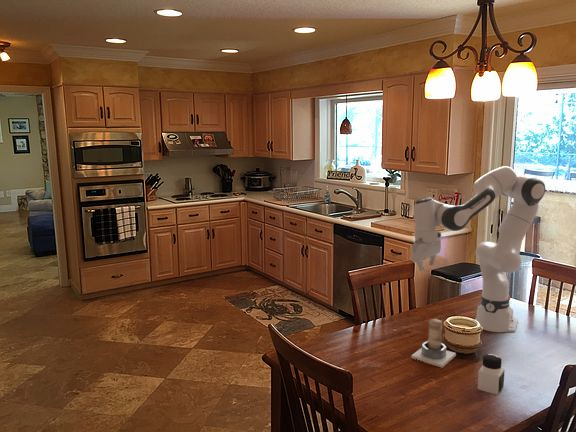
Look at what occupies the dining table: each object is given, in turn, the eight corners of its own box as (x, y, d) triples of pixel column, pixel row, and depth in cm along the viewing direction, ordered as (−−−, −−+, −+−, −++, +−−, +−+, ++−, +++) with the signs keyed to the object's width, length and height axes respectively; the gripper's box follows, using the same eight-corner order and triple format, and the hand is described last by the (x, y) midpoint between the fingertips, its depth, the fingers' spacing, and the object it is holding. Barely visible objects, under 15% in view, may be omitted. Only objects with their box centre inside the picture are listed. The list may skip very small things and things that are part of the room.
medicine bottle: (498, 395, 165) (500, 363, 163) (477, 389, 169) (478, 357, 167) (503, 386, 171) (505, 355, 169) (483, 381, 175) (484, 350, 173)
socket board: (425, 347, 204) (426, 336, 203) (455, 355, 195) (456, 344, 194) (411, 358, 194) (411, 346, 193) (442, 367, 185) (442, 356, 185)
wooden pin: (430, 349, 198) (432, 318, 195) (442, 353, 195) (444, 321, 192) (425, 354, 194) (427, 322, 191) (437, 358, 191) (439, 325, 188)
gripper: (420, 241, 194) (422, 274, 196) (443, 232, 208) (444, 262, 210) (406, 240, 198) (408, 273, 200) (429, 231, 213) (430, 261, 215)
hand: (426, 267), depth 205 cm, fingers open, 8 cm apart
